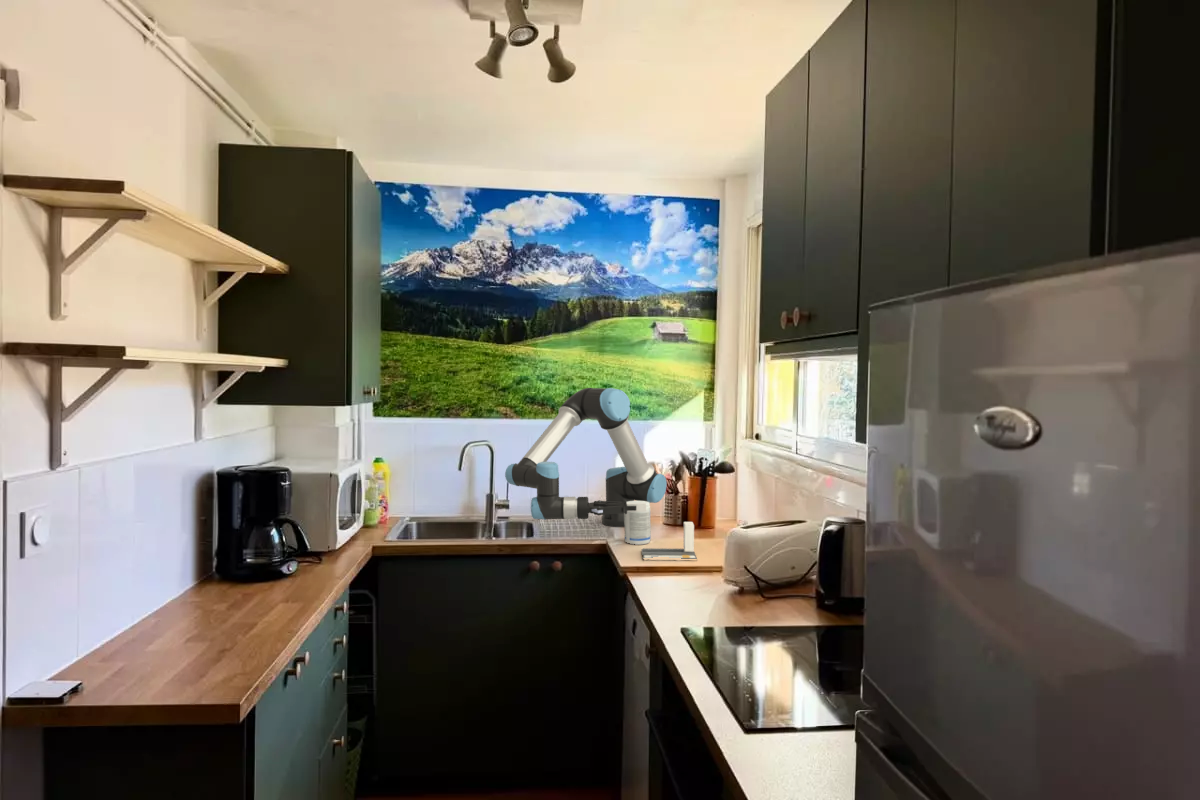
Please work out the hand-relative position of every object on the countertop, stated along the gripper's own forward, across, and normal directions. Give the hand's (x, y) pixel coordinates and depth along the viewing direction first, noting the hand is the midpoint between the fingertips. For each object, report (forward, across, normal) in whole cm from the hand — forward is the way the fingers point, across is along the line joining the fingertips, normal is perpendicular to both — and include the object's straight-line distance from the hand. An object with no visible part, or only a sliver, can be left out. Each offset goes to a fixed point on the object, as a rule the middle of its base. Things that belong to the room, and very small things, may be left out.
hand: (646, 507), depth 248 cm
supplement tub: (-2, -19, -18) cm, 26 cm away
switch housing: (+8, 0, -17) cm, 19 cm away
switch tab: (+14, 0, -17) cm, 22 cm away
